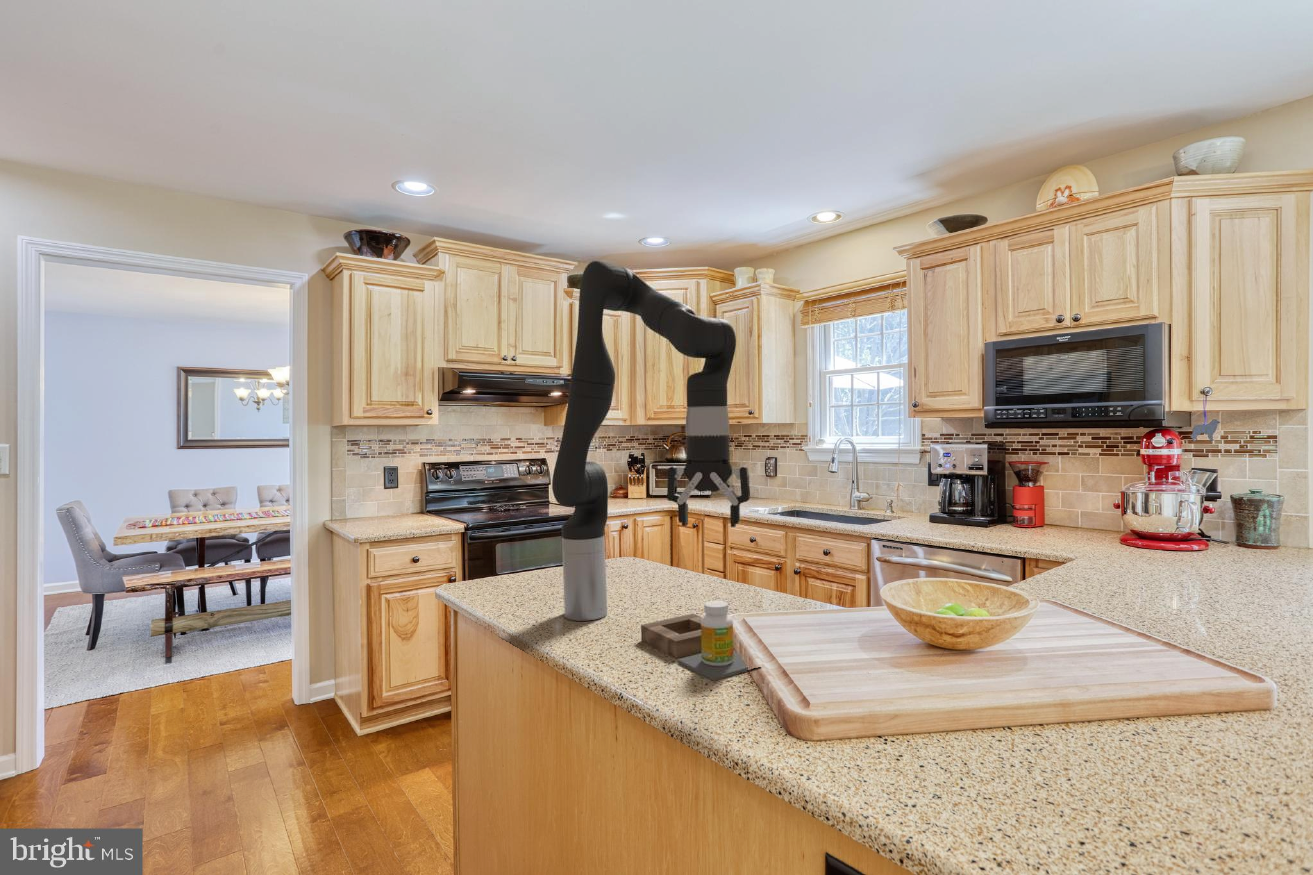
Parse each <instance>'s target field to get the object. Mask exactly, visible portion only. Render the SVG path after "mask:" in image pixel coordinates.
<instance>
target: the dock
mask: <svg viewBox="0 0 1313 875" xmlns="http://www.w3.org/2000/svg"><path fill="white" fill-rule="evenodd" d="M702 617H703V616H700V615H698V614H696V613H688V614H684V615H679V616H675V617H670V618H667V619H662V620H658V621H651V622H648V623H645V624H644V623H643V624H640V632H641V633H640V635H641V638H640V639H641V642H643V643H645V644H648V645H649V646H652V647H653V648H655V649H657V650H659V651H661V652H663V653H665V654H667V655H669V656H671V657H672V658H675V659H681V658H685V657H689V656H692V655H696V654H700V653H702V645H701V619H702Z"/></svg>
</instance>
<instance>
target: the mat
mask: <svg viewBox="0 0 1313 875" xmlns="http://www.w3.org/2000/svg"><path fill="white" fill-rule="evenodd" d="M740 654H741V653H740V652H737V651H734V660H733V662H732V663H731V664H729V665H725V666H711V665H707V664H705V663H704V662H703V661H702V652H700V653H696V654H692V655H688V656H684V657H681V658H677V663H678V664H679V665H681V666H684V667H685V668H687V669H688V670H691V671H693V672H695V673H697V674H698V675H701V676H703V677H704V678H706V679H708V680H710V681H712V682H715V681H718V680H722V679H726V678H728V677H733V676H735V675H740V674H742V673H741V672H743V673H746V672H748V671H747V670H748V667H747V665H746V664H745V662H744V660H743V659H742V657H741V656H740Z"/></svg>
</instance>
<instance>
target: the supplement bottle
mask: <svg viewBox="0 0 1313 875" xmlns="http://www.w3.org/2000/svg"><path fill="white" fill-rule="evenodd" d="M703 606H704V607H703V609H704V613H705V615H703V616H701V617H702V619H701V645H702V652H701V653H702V661H703V662H704V663H705V664H707V665H711V666H725V665H729V664H731V663H732V662H733V660H734V652H735V651H734V649H735V648H734V623H733V622H734V621H733V618H732V616H730V615H729V614H728V613H729V604H728V602H726V601H724V600H723V601H722V600H721V601H720V600H711V601H707V602H705V603H704V604H703Z"/></svg>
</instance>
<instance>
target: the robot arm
mask: <svg viewBox="0 0 1313 875" xmlns="http://www.w3.org/2000/svg"><path fill="white" fill-rule="evenodd" d="M605 310H606V311H607V310H608V311H613V312H625V313H626V312H627V313H629V314H634V315H636V316H639V317H640V319H641V320H642V322H643V323H644V325H645V326H646V327H647V328H648V329H649V330H651V331H653V332H654V333H655V334H657V335H659V336H661V337H662V338H665V339H666V340H668V342H669V344H671V345H672V347H673V348H674V349H675V350H677V352H678V353H680V354H682V355H683V356H687V357H689V358H692V359H693V358H694V359H704V363H703V367H702V370H701V371H697V372H695V373H691V374H690V375H689V376H688V378H687V380H686V414H685V415H686V416H685V428H684V429H685V430H684V432H685V452H686V454H685V455H686V456H685V458H686V459H685V461H686V463H685V466H684V467H681V466H680V467H679V466H676V465H672V466H670V467H668V470H667V494H666V498H667V500H668V501H669V502H674V503H675V504H677V514H678V515H677V519H678V523H681V526H682V527H687V526H688V525H689V504H688V503H687V501H688V500H689V498H690V497H691V496H692V494H693V493H694V492H695V491H697V492H698V493H699V492H700V493H701V492H702V493H703V492H707V491H708V492H712V493H713V492H714V493H715V492H717V493H718V492H719V491H720V492H722V494H723V495H724V496H725V497H726V499H728V501H729V502H730V506H729V507H730V508H729V509H730V511H729V512H730V518H729V519H730V523H729V524H730V528H736V526H737V525H738V524H739V523H740V520H741V510H740V509H741V508H740V507H741V504H743V503H745V502H746V503H747V502H748V501H749V500H750V499H751V488H750V487H751V486H750V474H749V468H748V466H746V465H743V466H741V467H740V466H739V467H738V466H737V467H732V464H731V461H730V459H731V458H730V417H729V411H728V382H729V377H730V375H731V370H732V365H733V362H734V357H735V353H736V348H737V336H736V332H735V329H734V327H733V325H732V324H731V323H730V322H729V321H727V320H726V319H723V318H717V317H705V316H698V315H696V312H695V311H694V310H693V309H692V308H691V307H690V306H688V305H687V304H684V303H683V302H681V301H679V300H676V299H674V298H673V297H670V296H668V295H667V294H664V293H662V292H660V291H657V290H656V289H655V288H653V287H652V286H651V285H649V284H648V283H647V282H646V281H644V280H643V279H642V278H641V277H640V276H639V275H637V273H635V272H633V271H632V270H631V269H630V268H628V267H625V266H622V265H617V264H613V263H609V262H604V261H599V260H593V261H590V262H589V263H588V264H587V266H586V267H585V268H584V271H583V273H582V275H581V281H580V286H579V298H578V315H577V316H578V319H577V330H576V331H577V333H576V341H575V342H576V343H575V350H574V358H573V363H572V369H571V374H570V381H569V387H568V389H569V390H568V397H567V406H566V413H565V419H564V423H563V424H564V425H563V430H562V436H561V441H560V445H559V449H558V454H557V457H556V461H555V465H554V469H553V473H552V480H551V481H552V482H551V488H552V490H551V491H552V494H553V497H554V500H555V501H556V502H557V503H558V505H560V506H561V507H567V508H569V507H570V508H572V507H574V510H573V512H572V515H571V516H570V517H569V518H568V519H567V520H566V521H564V522H563V524H562V526H561V550H562V552H561V553H562V577H563V578H562V579H563V603H564V604H563V606H564V617H565V618H566V619H567V620H570V621H578V622H579V621H580V622H581V621H582V622H583V621H584V622H586V621H595V620H597V619H598V620H600V619H602V618H604V617H606V616H607V615H608V601H607V600H608V598H607V596H608V595H607V569H606V568H607V567H606V565H607V564H606V563H607V562H606V544H605V541H606V540H605V539H606V538H605V528H606V524H607V522H608V511H609V509H608V507H609V506H608V505H609V486H608V479H607V474H606V471H605V470H604V469H603V467H602V466H601V465H600V464H599V463H597V462H594V461H587V460H588V453H589V450H590V447H591V443H592V441H593V439H594V437H595V435H596V433H597V432H598V430H599V429H600V427H601V425H602V424H603V422H604V421H605V419H606V417H607V416H608V413H609V412H610V409H611V407H612V402H613V396H614V392H615V390H614V389H615V383H616V371H615V367H614V363H613V361H612V359H611V356H610V353H609V351H608V348H607V345H606V341H605V339H604V333H603V332H604V331H603V319H604V312H605ZM683 474H684V476H685V477H686V479H687V481H688V482H689V483H688V484H687V485H686V487H685V488H684V489H683V491H682V493H681V494H678V480H679V479H681V478H682V475H683ZM733 474H734V475H735V478H736V479H737V480H738V481H740V495H737V493H736V492H735V491H734V489H733V487H732V486H731V485H730V484H729V482H728V480H729V479H730V478H731V476H733Z"/></svg>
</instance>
